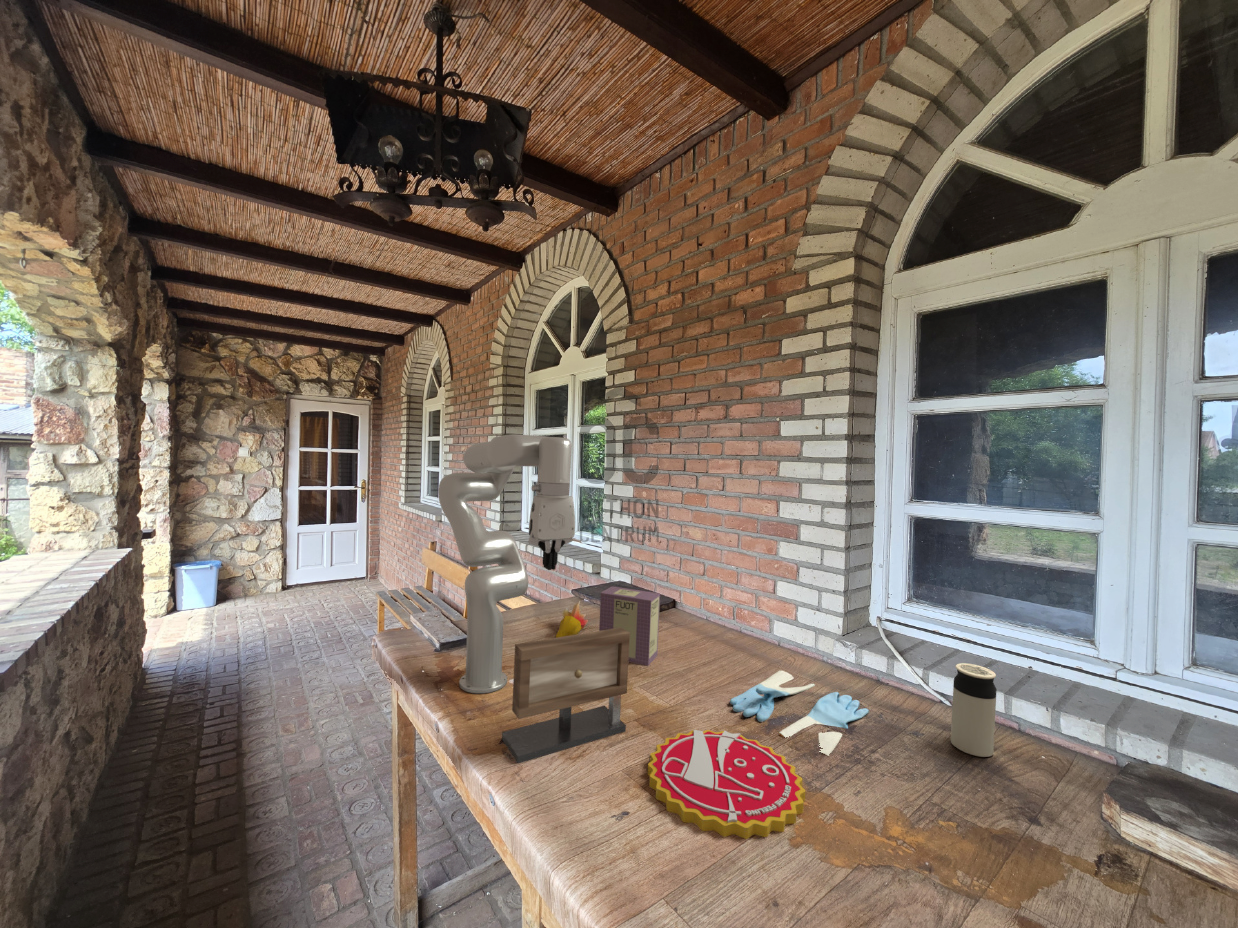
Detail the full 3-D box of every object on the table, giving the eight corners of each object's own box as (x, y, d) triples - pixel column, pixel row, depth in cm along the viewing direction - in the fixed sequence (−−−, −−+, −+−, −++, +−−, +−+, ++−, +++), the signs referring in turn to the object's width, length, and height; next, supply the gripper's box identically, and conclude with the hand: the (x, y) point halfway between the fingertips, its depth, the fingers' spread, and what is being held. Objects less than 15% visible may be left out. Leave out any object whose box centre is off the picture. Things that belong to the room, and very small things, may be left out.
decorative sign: (658, 719, 117) (793, 739, 111) (657, 730, 117) (792, 751, 111) (637, 806, 88) (818, 840, 82) (636, 821, 88) (818, 856, 82)
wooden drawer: (512, 710, 106) (515, 644, 105) (617, 686, 119) (620, 627, 119) (519, 720, 102) (522, 651, 102) (628, 694, 115) (631, 633, 115)
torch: (555, 659, 163) (574, 624, 188) (576, 651, 162) (593, 617, 186) (544, 637, 163) (564, 605, 187) (565, 628, 161) (583, 597, 186)
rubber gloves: (875, 708, 133) (876, 684, 133) (827, 759, 109) (829, 730, 109) (777, 674, 152) (778, 653, 151) (718, 711, 128) (720, 686, 128)
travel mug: (980, 761, 109) (985, 679, 109) (943, 742, 116) (947, 665, 116) (1000, 753, 113) (1004, 673, 113) (962, 734, 120) (966, 660, 120)
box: (657, 655, 161) (659, 593, 161) (648, 665, 153) (650, 600, 152) (609, 645, 167) (611, 586, 167) (598, 655, 159) (600, 592, 159)
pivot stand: (501, 738, 111) (504, 666, 111) (604, 711, 124) (606, 647, 124) (517, 763, 102) (520, 685, 102) (625, 731, 116) (628, 662, 116)
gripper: (529, 492, 110) (525, 575, 110) (589, 491, 118) (585, 569, 118) (516, 488, 116) (513, 567, 117) (574, 488, 124) (570, 562, 124)
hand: (549, 568), depth 117 cm, fingers closed
